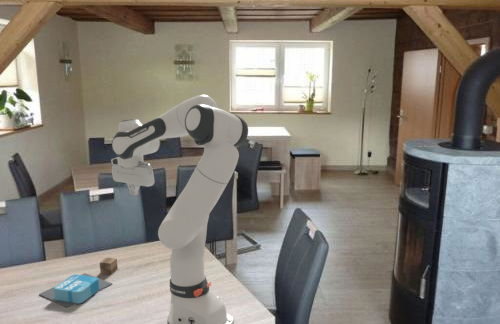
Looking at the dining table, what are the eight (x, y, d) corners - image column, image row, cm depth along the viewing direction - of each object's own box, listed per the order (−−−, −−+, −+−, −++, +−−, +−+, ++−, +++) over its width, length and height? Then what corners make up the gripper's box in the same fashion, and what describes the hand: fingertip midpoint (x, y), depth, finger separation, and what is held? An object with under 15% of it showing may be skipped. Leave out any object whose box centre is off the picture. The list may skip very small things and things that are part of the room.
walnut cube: (117, 269, 178) (116, 258, 177) (111, 274, 173) (110, 263, 173) (107, 268, 179) (106, 257, 178) (100, 273, 175) (99, 262, 174)
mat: (112, 284, 165) (112, 283, 165) (66, 307, 149) (66, 306, 148) (85, 274, 174) (85, 273, 174) (39, 294, 158) (39, 293, 158)
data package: (79, 292, 149) (51, 288, 152) (80, 304, 150) (52, 299, 153) (100, 277, 160) (73, 273, 163) (101, 288, 161) (74, 284, 164)
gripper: (157, 161, 161) (159, 196, 164) (120, 156, 172) (123, 189, 175) (145, 164, 156) (147, 200, 159) (108, 159, 167) (110, 193, 170)
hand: (134, 194), depth 167 cm, fingers closed
